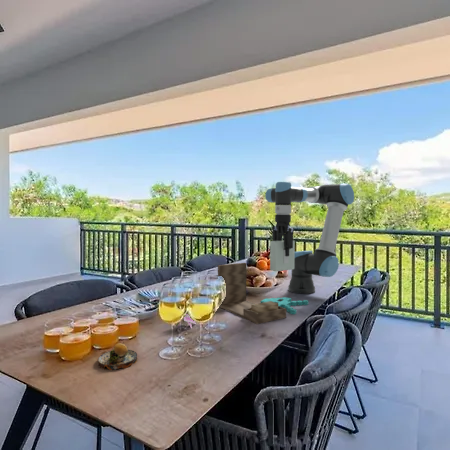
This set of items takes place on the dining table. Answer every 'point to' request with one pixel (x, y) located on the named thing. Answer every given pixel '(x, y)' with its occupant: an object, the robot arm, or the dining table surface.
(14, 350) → the dining table surface
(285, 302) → the teal pixel art cutout
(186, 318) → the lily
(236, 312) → the rack
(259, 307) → the upper offcut
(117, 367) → the small appetizer plate
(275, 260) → the sage sheet
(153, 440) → the dining table surface
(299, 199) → the robot arm
